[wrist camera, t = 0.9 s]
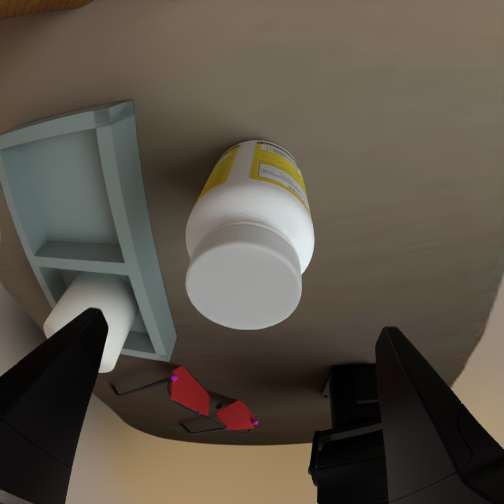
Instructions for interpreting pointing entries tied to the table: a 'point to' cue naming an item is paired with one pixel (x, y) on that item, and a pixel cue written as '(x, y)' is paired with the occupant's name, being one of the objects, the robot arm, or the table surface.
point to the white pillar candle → (105, 298)
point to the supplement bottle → (249, 238)
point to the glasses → (201, 402)
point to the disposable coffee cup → (36, 6)
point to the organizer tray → (88, 211)
